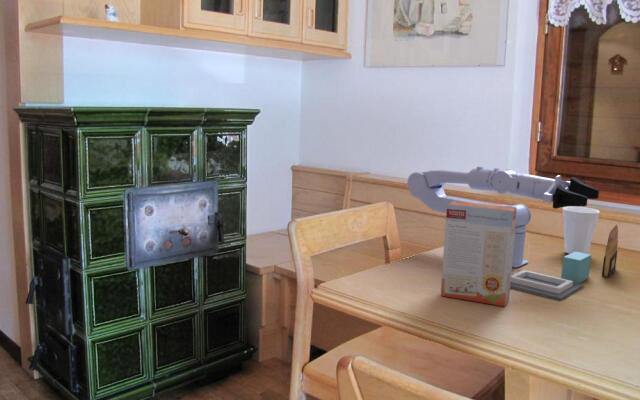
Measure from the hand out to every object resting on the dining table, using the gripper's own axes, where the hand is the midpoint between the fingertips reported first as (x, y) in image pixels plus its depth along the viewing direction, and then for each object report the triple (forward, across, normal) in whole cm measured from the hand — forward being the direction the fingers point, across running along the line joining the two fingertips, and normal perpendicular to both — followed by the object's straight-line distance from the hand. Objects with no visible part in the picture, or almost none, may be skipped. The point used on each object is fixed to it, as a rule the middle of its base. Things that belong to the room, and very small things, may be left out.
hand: (592, 198), depth 150 cm
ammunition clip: (+3, +9, +22) cm, 24 cm away
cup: (-10, +22, +24) cm, 34 cm away
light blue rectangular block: (-1, -4, +20) cm, 21 cm away
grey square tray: (-4, -17, +19) cm, 25 cm away
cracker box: (-10, -36, +16) cm, 41 cm away
